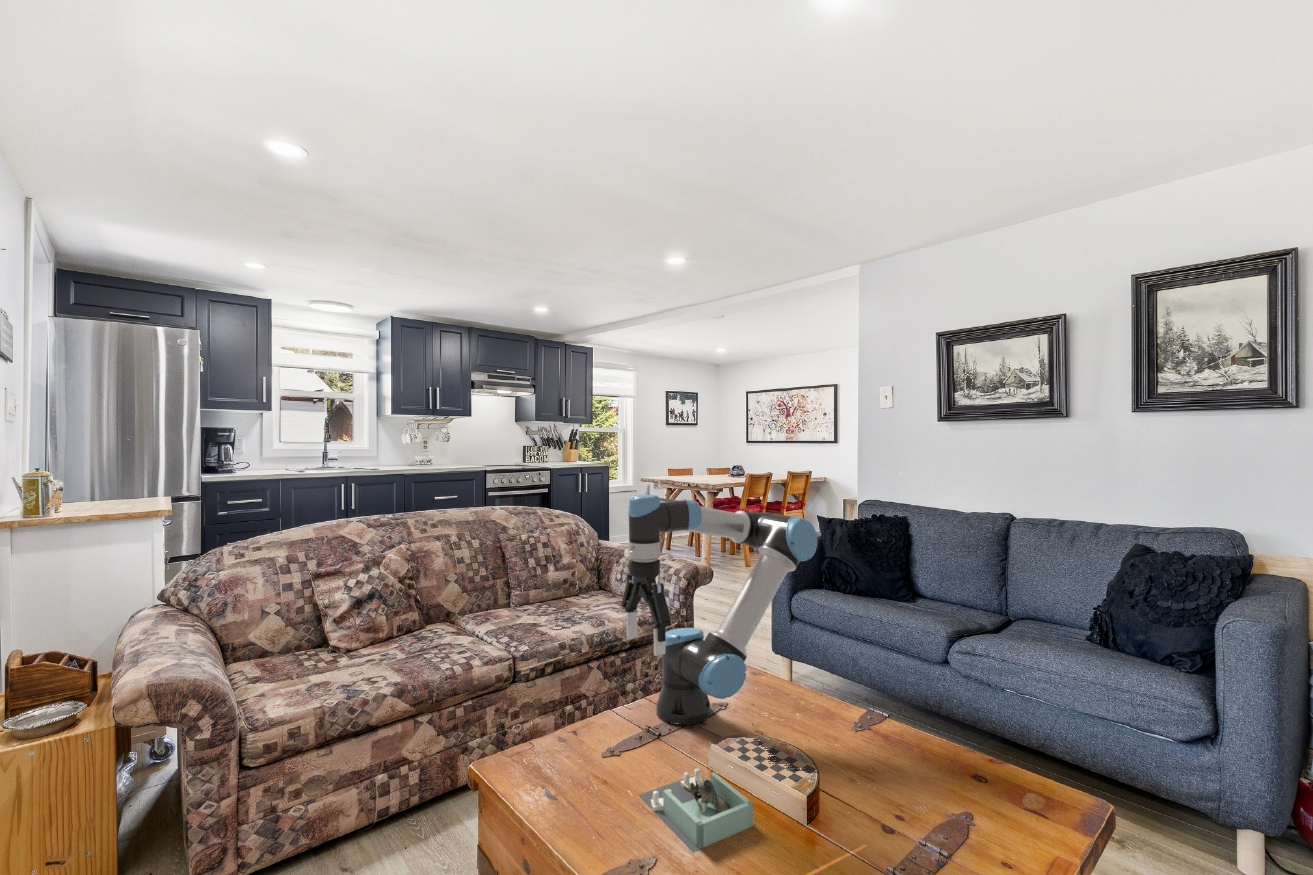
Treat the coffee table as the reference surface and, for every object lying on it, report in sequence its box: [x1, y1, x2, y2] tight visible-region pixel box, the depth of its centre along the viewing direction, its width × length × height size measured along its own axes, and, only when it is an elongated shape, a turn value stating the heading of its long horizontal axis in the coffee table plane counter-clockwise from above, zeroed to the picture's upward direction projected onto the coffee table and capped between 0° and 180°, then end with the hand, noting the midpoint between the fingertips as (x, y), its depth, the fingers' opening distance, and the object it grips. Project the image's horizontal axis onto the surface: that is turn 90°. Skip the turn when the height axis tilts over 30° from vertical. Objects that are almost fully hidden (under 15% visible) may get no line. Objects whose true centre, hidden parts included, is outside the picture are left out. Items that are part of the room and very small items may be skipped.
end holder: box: [663, 772, 754, 850], centre depth 124 cm, size 13×13×4 cm
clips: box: [651, 768, 704, 812], centre depth 132 cm, size 14×6×3 cm, turn 121°
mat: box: [638, 774, 756, 853], centre depth 127 cm, size 15×21×1 cm
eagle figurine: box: [683, 774, 731, 814], centre depth 126 cm, size 8×7×9 cm
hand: (645, 645), depth 149 cm, fingers open, 13 cm apart
